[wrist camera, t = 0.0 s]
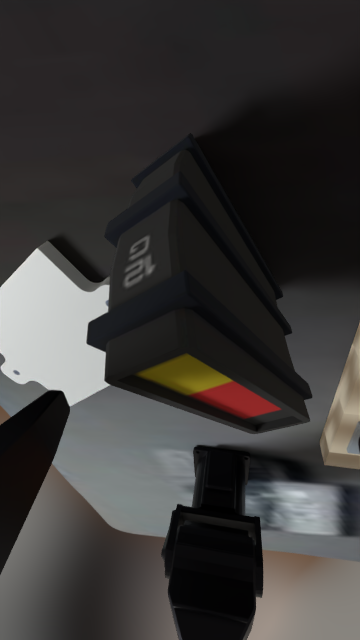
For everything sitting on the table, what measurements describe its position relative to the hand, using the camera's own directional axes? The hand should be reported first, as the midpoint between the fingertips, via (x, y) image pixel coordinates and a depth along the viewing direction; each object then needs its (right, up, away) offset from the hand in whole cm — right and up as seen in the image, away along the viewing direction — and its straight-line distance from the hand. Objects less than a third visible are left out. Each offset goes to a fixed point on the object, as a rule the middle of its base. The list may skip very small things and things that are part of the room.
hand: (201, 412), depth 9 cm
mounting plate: (-11, +2, +20) cm, 23 cm away
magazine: (+3, +8, +12) cm, 15 cm away
